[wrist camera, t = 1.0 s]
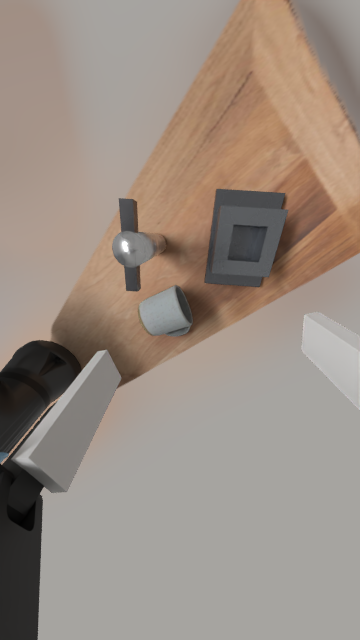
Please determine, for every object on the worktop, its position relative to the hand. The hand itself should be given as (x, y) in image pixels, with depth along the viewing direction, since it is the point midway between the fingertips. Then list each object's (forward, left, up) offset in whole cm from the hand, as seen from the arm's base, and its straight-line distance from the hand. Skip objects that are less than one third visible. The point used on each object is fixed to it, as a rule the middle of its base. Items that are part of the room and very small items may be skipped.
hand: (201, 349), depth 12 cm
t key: (-7, +5, -23) cm, 24 cm away
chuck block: (+7, +6, -23) cm, 24 cm away
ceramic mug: (-4, -7, -23) cm, 24 cm away
